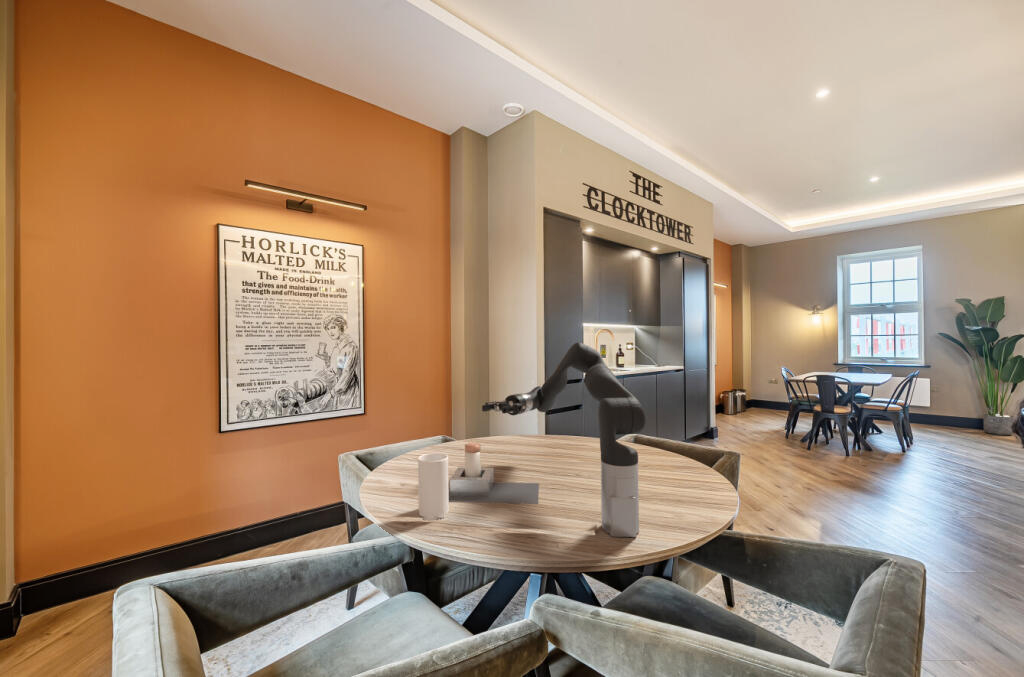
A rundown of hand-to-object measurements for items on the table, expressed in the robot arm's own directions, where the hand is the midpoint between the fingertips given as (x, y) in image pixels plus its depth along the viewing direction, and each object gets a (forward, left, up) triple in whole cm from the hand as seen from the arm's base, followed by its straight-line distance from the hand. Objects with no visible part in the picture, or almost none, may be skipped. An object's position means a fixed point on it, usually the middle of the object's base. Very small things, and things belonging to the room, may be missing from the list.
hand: (492, 409), depth 138 cm
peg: (-9, +5, -24) cm, 26 cm away
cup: (-27, +13, -25) cm, 39 cm away
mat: (-12, -2, -25) cm, 27 cm away
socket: (-10, +5, -24) cm, 26 cm away
